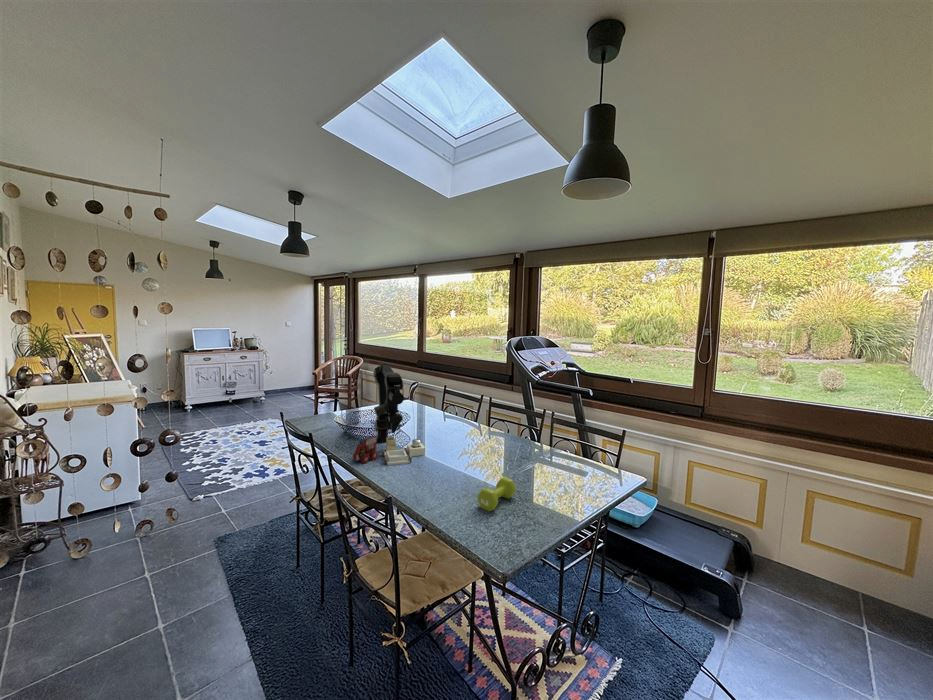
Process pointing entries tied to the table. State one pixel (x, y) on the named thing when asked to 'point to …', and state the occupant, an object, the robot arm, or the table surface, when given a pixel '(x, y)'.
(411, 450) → the plunger housing
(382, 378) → the robot arm
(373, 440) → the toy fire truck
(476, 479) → the table surface
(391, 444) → the engine block
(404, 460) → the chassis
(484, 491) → the dumbbell
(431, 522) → the table surface
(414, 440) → the plunger
